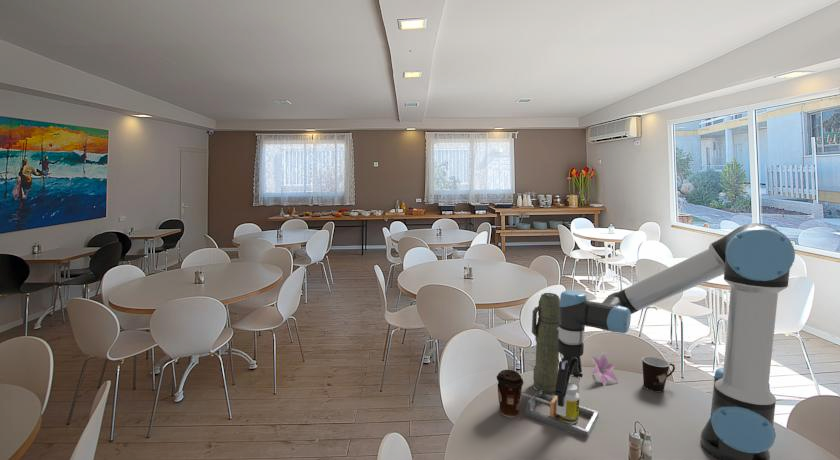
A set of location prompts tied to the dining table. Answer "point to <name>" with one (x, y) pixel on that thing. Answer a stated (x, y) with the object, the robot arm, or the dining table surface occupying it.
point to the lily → (604, 369)
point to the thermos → (546, 342)
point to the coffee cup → (509, 392)
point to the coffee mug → (655, 372)
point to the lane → (557, 422)
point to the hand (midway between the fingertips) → (567, 404)
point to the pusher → (552, 403)
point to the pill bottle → (571, 405)
